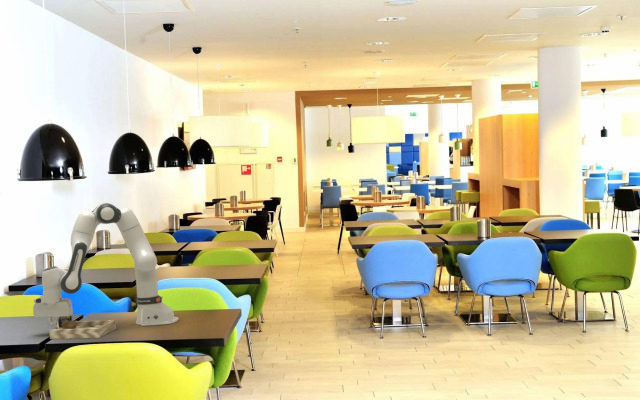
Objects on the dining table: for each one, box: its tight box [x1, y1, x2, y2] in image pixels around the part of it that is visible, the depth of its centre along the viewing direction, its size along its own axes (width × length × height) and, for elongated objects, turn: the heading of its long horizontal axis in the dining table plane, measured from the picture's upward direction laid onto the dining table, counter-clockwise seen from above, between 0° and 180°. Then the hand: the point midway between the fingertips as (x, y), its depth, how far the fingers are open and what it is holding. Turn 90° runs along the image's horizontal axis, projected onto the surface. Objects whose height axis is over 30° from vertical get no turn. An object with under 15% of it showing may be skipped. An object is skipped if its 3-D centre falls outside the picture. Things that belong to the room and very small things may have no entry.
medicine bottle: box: [56, 314, 73, 329], centre depth 390 cm, size 7×7×12 cm
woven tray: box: [48, 319, 117, 340], centre depth 371 cm, size 26×20×4 cm
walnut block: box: [62, 319, 77, 329], centre depth 371 cm, size 5×5×4 cm
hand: (54, 325), depth 372 cm, fingers closed
